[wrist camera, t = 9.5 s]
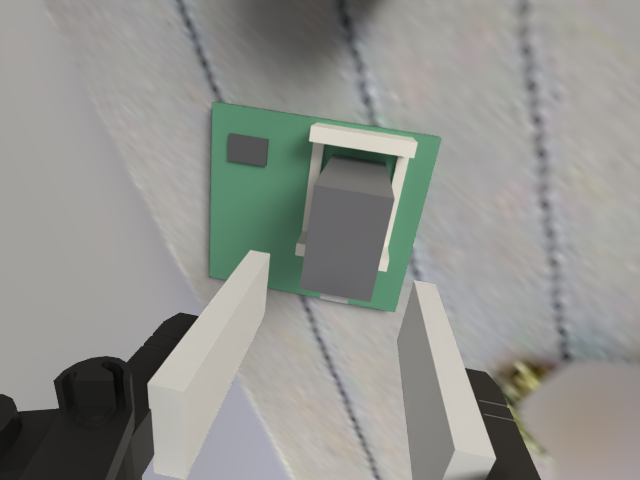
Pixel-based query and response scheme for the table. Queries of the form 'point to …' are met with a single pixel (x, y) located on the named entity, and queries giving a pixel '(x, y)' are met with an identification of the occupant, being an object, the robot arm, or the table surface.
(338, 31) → the table surface
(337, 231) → the plug
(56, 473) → the robot arm
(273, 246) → the board
